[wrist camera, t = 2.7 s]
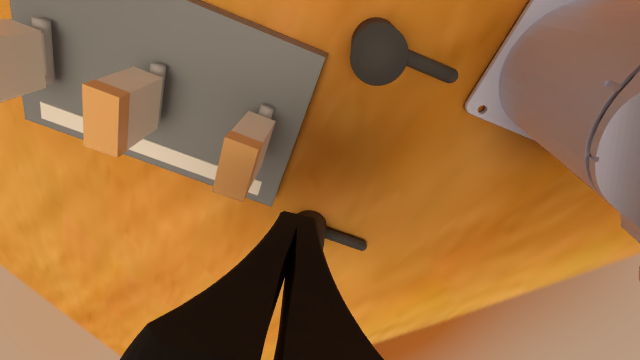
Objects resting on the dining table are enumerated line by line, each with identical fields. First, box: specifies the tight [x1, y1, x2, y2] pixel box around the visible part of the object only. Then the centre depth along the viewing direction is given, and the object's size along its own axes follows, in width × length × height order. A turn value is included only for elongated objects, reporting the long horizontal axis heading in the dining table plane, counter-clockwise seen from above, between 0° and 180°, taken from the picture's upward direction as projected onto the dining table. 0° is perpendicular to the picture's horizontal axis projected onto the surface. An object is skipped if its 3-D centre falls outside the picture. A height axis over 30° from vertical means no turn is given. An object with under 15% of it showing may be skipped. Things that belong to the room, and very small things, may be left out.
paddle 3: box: [0, 16, 55, 102], centre depth 17 cm, size 2×4×5 cm, turn 159°
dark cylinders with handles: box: [299, 17, 458, 251], centre depth 20 cm, size 7×17×4 cm, turn 159°
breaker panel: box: [10, 0, 327, 207], centre depth 20 cm, size 17×11×2 cm, turn 69°
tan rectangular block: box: [212, 104, 276, 202], centre depth 18 cm, size 2×4×5 cm, turn 159°
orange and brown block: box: [82, 62, 166, 158], centre depth 17 cm, size 2×4×5 cm, turn 160°
